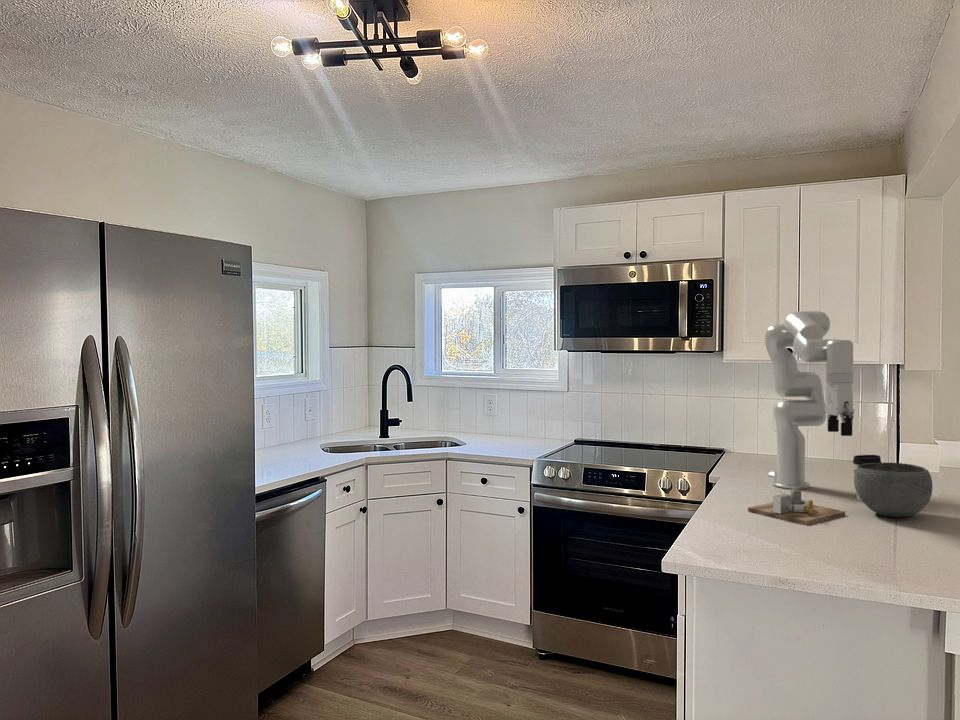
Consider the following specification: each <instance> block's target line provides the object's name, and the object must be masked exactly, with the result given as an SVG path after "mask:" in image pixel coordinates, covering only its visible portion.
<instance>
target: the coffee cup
mask: <svg viewBox="0 0 960 720" xmlns="http://www.w3.org/2000/svg"><path fill="white" fill-rule="evenodd" d="M881 459H882V458H881V456H880V455H877V454H861V455H860V454H858V455H853V459H852V464H854V466H853V467H854V469H853V472H854V473H853V474H854V475H855V471H856V469H857V467H858V466H859V465H861V464H866V463H882V461H881ZM855 492H856V491H855ZM855 494H856V500H858V501H859V502H863V501H862V500H861V499H860V497H859V496H858V494H857V492H856V493H855Z"/></svg>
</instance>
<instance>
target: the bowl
mask: <svg viewBox="0 0 960 720" xmlns="http://www.w3.org/2000/svg"><path fill="white" fill-rule="evenodd" d="M853 476H854V478H853V483H854V485H853V486H854V489H855V492H857V494H858V496H859V497H860V499H861V500H862V501H861V502H862V503H863V504H865V506H867V508H869V509H870V510H871V511H873V512H875V513H876V514H877V515H880V516H884V517H888V518H889V517H890V518H906V517H911V516H915V515H916V514H918V513H919V512H921V511H923V509H924V508H925V507H927V505H928V504H929V502H930V500H931V497H932V495H933V480H932V476H931V473H930V472H929V470H928V469H927V468H926V467H924V466H920V465H917V464H911V463H902V462H881V463H866V464H861V465H859V466H858V467H857V469H856V471H855V474H854V475H853Z"/></svg>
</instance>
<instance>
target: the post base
mask: <svg viewBox="0 0 960 720" xmlns="http://www.w3.org/2000/svg"><path fill="white" fill-rule="evenodd" d="M790 495H791V503H792V504H801V500H802V489H790ZM807 501H808V512H794V511H792V512H791V511H790V512H786V513H782V514H780V513H775V512H773V501H772V502H768V503H767V502H766V503H763V504H758V505H754V506H750V507H747V512H748V511H750V512H749V513H753V512H754V513H753V514H757V513H758V515H761V514H762V516H766V517H771V518H774V519H779V520H784V521H788V522H791V523H796V524H800V525H804V526H805V525H806V526H808V525H811V524H816V523H820V522H825V521H829V520H832V519H835V518H839V517H840V518H841V517H843V516H846V511H844V510H840V509H835V508H830V507H827V506H826V507H825V506H820V505H816V504H814V500H812V499H811V500H810V499H808V500H807Z"/></svg>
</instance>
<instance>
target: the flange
mask: <svg viewBox="0 0 960 720" xmlns="http://www.w3.org/2000/svg"><path fill="white" fill-rule="evenodd" d="M772 497H773V498H772V499H773V500H772V502H773V512H775V513H780V514H782V513H786V512H790V511H791V512H792V511H794V512H808V500H806V499H801V504H792V503H791V494H787V493H781V494H776V495H775V494H774V495H773V496H772Z"/></svg>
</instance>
